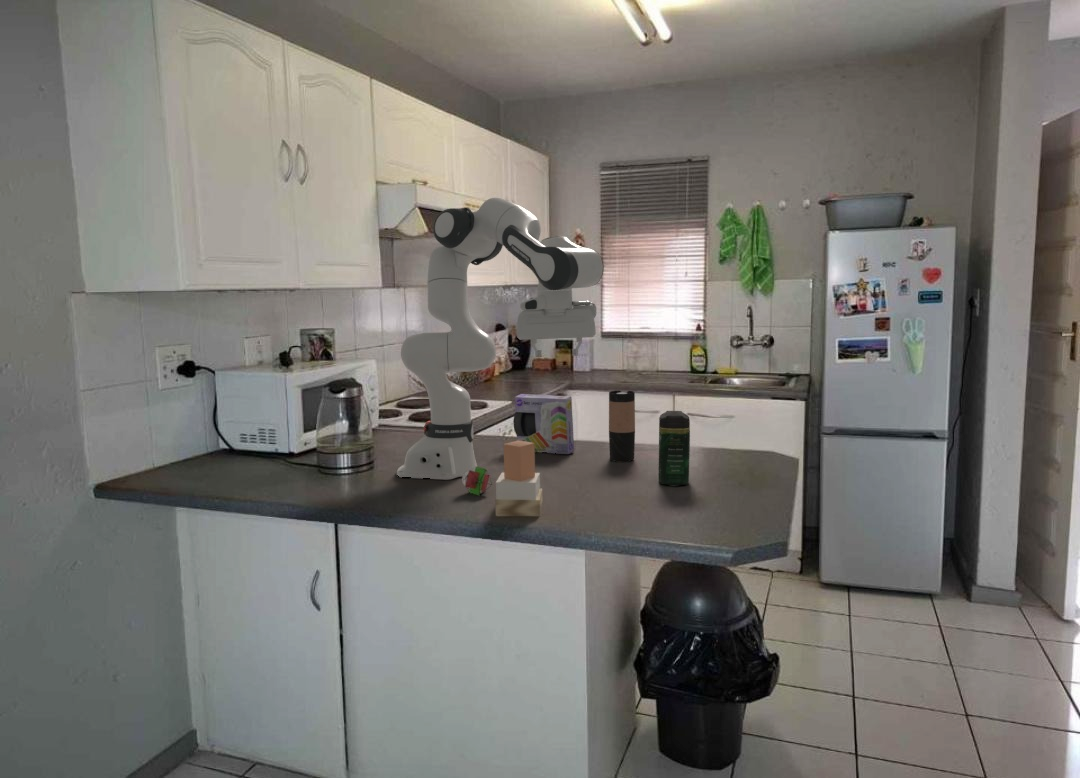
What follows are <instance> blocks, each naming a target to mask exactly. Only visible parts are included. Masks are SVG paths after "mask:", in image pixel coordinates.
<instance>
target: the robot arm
mask: <svg viewBox="0 0 1080 778" xmlns="http://www.w3.org/2000/svg"><path fill="white" fill-rule="evenodd" d="M432 226H433V227H432V230H433V231H432V232H433V235H434V238H435V240H436V241H437V242H438V243H439V244H441V245H439V246H436V247H435V248H433V250H432V251H431V253H430V256H429V261H428V269H427V309H428V311H429V314H430V315H431V316H432V317H433V318H435V319H436V320H439V321H440V322H443V323H444V324H446V325H448V326H449V327H450V328H451V330H450V331H447V332H444V331H443V332H422V333H417V334H413V335H409V336H407V337H406V338H405V339H404V341H403V343H402V345H401V350H400V357H401V361H402V363H403V365H404V367H405V368H406V369H407V370H408V371H410V372H411V373H413V374H414V375H416V377H417V378H418V379H419V380H420V381H421V383H422V384H423V385H424V387H425V390H426V392H427V396H428V401H429V409H430V420H428V421H426V422H425V423H424V426H423V433H424V435H423V436H422V437H421V438H420V439H418V441H416V442H415V443H414V444H413V445H412V446H411V447H410V448H409V449H408V450H407V452H406V453H405V457H404V464H402V465H401V466H400V467H398V468H397V470H396V476H397V475H398V476H399V478H402V477H411V478H410V479H423V478H430V479H429V480H445V481H447V480H449V481H450V480H453V479H456V478H459V477H461V478H462V477H463V474H464V472H467V471H469V470H470V471H474V472H475V468H476V467H478V464H477V461H476V456H475V452H474V446H473V444H474V443H473V440H474V424H473V420H472V416H471V415H472V412H471V409H472V407H471V395H470V394H469V393H470V392H469V391H468V390H466V388H464V387H463V386H461V385H458V384H457V383H454V382H452V381H451V380H449V378H448V376H447V374H448V373H466V372H467V373H468V372H469V373H470V372H479V371H481V370H482V371H483V370H486V369H489V368H490V367H492V365H493V363H494V361H495V359H496V354H497V348H496V345H495V342H494V340H493V338H492V337H491V336H490V335H489V334H488V333H486V332H485V331H483V329H481V328H480V327H479V325H478V324H477V323H476V322H475V320H474V318H473V317H472V314H471V310H470V305H469V295H468V293H469V292H468V268H469V265H470V264H472V265H474V266H479V265H481V264H482V263H483V262H488V261H491V260H492V259H495V258H496V257H497V256H498V255H499V253H500V252H501V251H502V249H503V247H504V248H505V249H506V250H507V251H508V252H509V253H510V254H512V255H513V257H515V258H516V259H517V260H519V262H521V263H522V264H524V266H526V267H528V268H529V270H531V271H532V273H533V274H534V276H535V277H536V279H537V280H538V282H537V283H538V284H537V291H536V293H537V295H536V296H534V297H530V298H529V299H526V300H524V301H522V302H521V303H520V305H519V306H520V310H521V311H520V312H519V314H518V316H517V321H516V338H518V339H519V340H520V341H522V340H525V341H526V340H530V345H531V347H532V348H533V349H534V351H535V358H541V357H542V355H543V354H542V349H538V347H537V345H536V344H537V340H549V339H550V340H551V339H554V340H555V339H556V340H557V339H576V343H577V345H576V347H575V348H571V350H572V357H578V356H579V349H580V347H581V345H582V343H583V338H586V339H587V338H594V337H595V335H596V334H597V332H596V331H597V330H596V323H595V318H596V316H597V306H596V304H595V303H593V302H591V301H589V300H583V301H580V300H579V301H577V300H576V301H575V300H573V290H572V289H581V288H582V289H583V288H590V287H593V286H596V285H597V284H598V283H599V282H600V281H601V279H602V277H603V274H604V261H603V258H602V256H601V255H600V253H599V252H598V251H596V250H594V249H591V248H589V247H585V246H584V247H583V246H581V245H578V244H576V243H575V242H572V241H571V240H570V239H569V238H568V237H567V236H562V235H555V236H550V237H546V238H544V239H541V240H540V237H541V232H542V231H541V230H542V229H541V223H540V221H539V219H538V218H537V217H536V216H535V215H534V214H533V213H532V212H530V211H529V210H527V209H526V208H524V207H523V206H521V205H518V204H517V203H515V202H512V201H510V200H507V199H505V198H504V199H503V198H499V197H491V198H488V199H487V200H485V201H484V202H483V203H482V204H481V205H480V207H479V209H477V210H476V211H472V210H471V208H470V207H460V208H459V207H457V208H447V209H444V210H442V211H441V212H440V213H439V214H437V216H436V218H435V220H434V223H433V225H432ZM539 240H540V241H539ZM473 468H474V469H473ZM468 474H469V472H468ZM468 474H467V476H468ZM398 476H397V477H398Z"/></svg>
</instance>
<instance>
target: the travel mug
mask: <svg viewBox="0 0 1080 778" xmlns="http://www.w3.org/2000/svg"><path fill="white" fill-rule="evenodd" d="M635 397H636V394H635V391H633V390H628V391H626V392H624V391H622V390H610V391H609V392H608V442H609V443H608V445H609V446H608V448H609V459H611V461H612V460H615V461H614V462H617V461H628V462H630V461H629V460H632V461H634V460H633V459H635V448H636V447H635V446H636V445H635V443H636V442H635V440H636V438H635V437H636V408H635V407H636V404H635V403H636V401H635V400H636V399H635Z"/></svg>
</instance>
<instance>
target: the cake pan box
mask: <svg viewBox="0 0 1080 778" xmlns="http://www.w3.org/2000/svg"><path fill="white" fill-rule="evenodd" d="M572 400H573V399H572V396H570V395H569V396H567V395H565V396H564V395H553V394H552V395H551V394H529V393H520V394H518V395H516V396H514V410H515V411H514V412H515V413H514V415H513V421H512V422H513V430H514V433H515V435H516V441H517V440H519V441H525V442H532V443H534V446H535V451H536V452H535V453H542V452H547V453H546V454H555V453H556V454H558V455H569V454H574V453H575V440H574V437H575V436H574V423H573V422H574V421H573V402H572Z"/></svg>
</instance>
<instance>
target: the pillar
mask: <svg viewBox="0 0 1080 778" xmlns="http://www.w3.org/2000/svg"><path fill="white" fill-rule="evenodd" d="M535 454H536V452H535V446H534V443H532V442H525V441H519V440H517V439H516V440H515V441H510V442H506V443H504V444H503V466H504V467H503V468H504V469H503V472H504V478H506V479H511V480H516V481H524V480H527V479H530V478H533V477H535V473H536V455H535Z"/></svg>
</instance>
